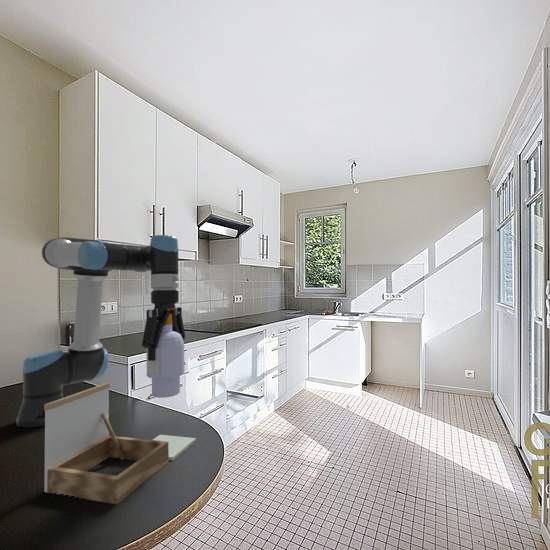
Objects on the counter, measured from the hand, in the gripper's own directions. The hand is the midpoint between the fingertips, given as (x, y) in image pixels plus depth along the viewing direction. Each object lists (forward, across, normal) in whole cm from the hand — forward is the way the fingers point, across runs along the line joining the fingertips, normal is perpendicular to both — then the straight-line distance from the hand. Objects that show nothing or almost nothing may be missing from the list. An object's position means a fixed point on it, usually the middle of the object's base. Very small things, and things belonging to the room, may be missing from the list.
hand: (165, 368), depth 98 cm
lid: (+22, -16, +14) cm, 31 cm away
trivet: (+22, 0, 0) cm, 22 cm away
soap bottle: (+7, 0, 0) cm, 7 cm away
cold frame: (+22, -16, +4) cm, 28 cm away
